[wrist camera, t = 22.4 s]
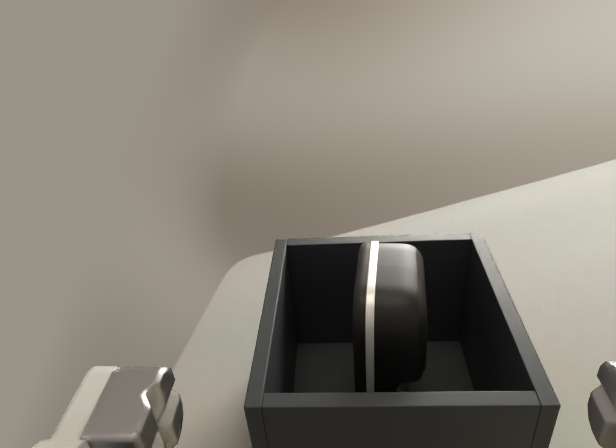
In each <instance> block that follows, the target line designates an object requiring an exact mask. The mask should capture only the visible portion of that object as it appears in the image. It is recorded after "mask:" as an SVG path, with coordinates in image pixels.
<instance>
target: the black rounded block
mask: <svg viewBox="0 0 616 448" xmlns="http://www.w3.org/2000/svg"><path fill="white" fill-rule="evenodd" d="M352 328H353V359H354V385H355V392H409V383H413V382H417V381H418V380H419V379H421V378H422V375H423V372H424V370H425V369H426V358H427V305H426V289H425V273H424V263H423V258H422V256H421V253H420V252H419V251H418V250H417V248H416V247H414V246H412V245H409V244H399V243H379V241H372V242H371V243H363V244H361V246H360V249H359V255H358V263H357V270H356V278H355V286H354V295H353V311H352Z"/></svg>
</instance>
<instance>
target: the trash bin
mask: <svg viewBox="0 0 616 448" xmlns="http://www.w3.org/2000/svg"><path fill="white" fill-rule="evenodd" d="M372 241H379V243H399V244H409V245H412V246H414V247H416V248H417V250H418V251H419V252H420V253H421V256H422V258H423V263H424V273H425V289H426V305H427V358H426V369H425V370H424V372H423V375H422V378H421V379H419V380H418V381H417V382H413V383H409V392H355V385H354V359H353V328H352V311H353V295H354V286H355V278H356V270H357V263H358V255H359V249H360V246H361V244H363V243H371V242H372ZM559 409H560V403H559V401H558V399H557V397H556V394H555V392H554V390H553V388H552V386H551V383H550V381H549V379H548V377H547V375H546V373H545V370H544V368H543V366H542V364H541V362H540V360H539V357H538V355H537V353H536V351H535V349H534V346H533V344H532V342H531V340H530V338H529V336H528V333H527V331H526V329H525V327H524V325H523V323H522V320H521V318H520V316H519V314H518V312H517V309H516V307H515V305H514V303H513V301H512V299H511V296H510V294H509V292H508V290H507V288H506V285H505V283H504V281H503V279H502V277H501V275H500V272H499V270H498V268H497V266H496V264H495V262H494V259H493V257H492V255H491V253H490V251H489V248H488V246H487V244H486V242H485V240H484V238H483V235H482V233H481V232H478V233H448V234H418V235H389V236H360V237H330V238H302V239H277V240H276V242H275V247H274V252H273V257H272V263H271V268H270V273H269V278H268V283H267V289H266V294H265V299H264V304H263V310H262V315H261V320H260V325H259V331H258V336H257V341H256V346H255V352H254V357H253V362H252V367H251V373H250V378H249V383H248V388H247V394H246V399H245V404H244V410H245V415H246V420H247V424H248V429H249V434H250V438H251V443H252V448H548V447H549V444H550V440H551V437H552V433H553V430H554V426H555V423H556V420H557V416H558V413H559Z"/></svg>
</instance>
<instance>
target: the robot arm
mask: <svg viewBox="0 0 616 448" xmlns="http://www.w3.org/2000/svg"><path fill="white" fill-rule="evenodd" d="M597 377H598V379H599V380H600V382H601V385H600V386H599V387H597V388H596V389H595V390H593V391H592V392H591V394H590V398H589V402H588V417H589V422H590V425H591V429H592V432H593V434H594V436H595V438H596V440H597V442H598V444H599V445H600V446H602V447H603V448H616V361H605V362H604V363H603V364H602V365H601V366H600V368H599V371H598V374H597ZM174 381H175V378H174V375H173V372H172V370H171V368H168V367H129V366H118V367H100V366H96V367H95V366H94V367H93V368H92V369H90V370H89V371H88V372H87V373H86V375H85V377H84V379H83V380H82V382H81V384H80V386H79V388H78V389H77V391H76V393H75V395H74V397H73V399H72V400H71V402H70V404H69V406H68V408H67V409H66V411H65V413H64V415H63V416H62V418H61V420H60V422H59V424H58V426H57V428H56V429H55V431H54V433H53V435H52V436H51V438H50V440H41V441H40V442H39V443H37V444H36V445H35V446H33V447H32V448H174V447H175V446H176V445H177V444H178V441H179V437H180V434H181V430H182V421H183V407H182V401H181V398H180V395H179V394H178V393H177V392H175V391H174V390H173V389H172V387H173V384H174Z"/></svg>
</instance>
